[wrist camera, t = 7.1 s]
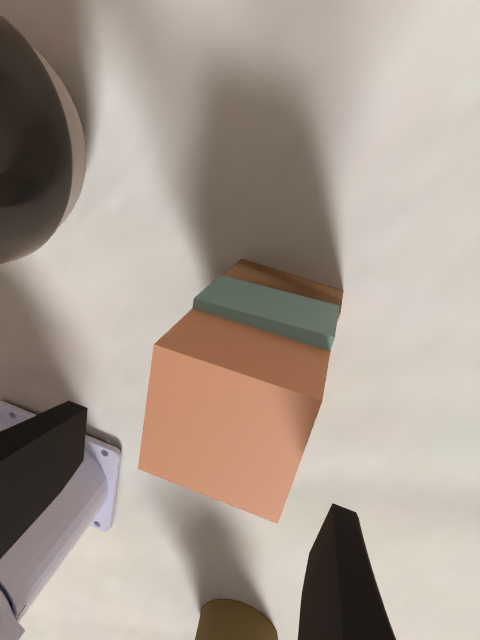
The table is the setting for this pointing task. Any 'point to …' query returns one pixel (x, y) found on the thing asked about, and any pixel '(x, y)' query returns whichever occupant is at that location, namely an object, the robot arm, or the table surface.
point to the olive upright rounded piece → (233, 622)
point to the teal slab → (271, 310)
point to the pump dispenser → (35, 148)
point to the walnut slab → (284, 282)
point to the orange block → (231, 411)
